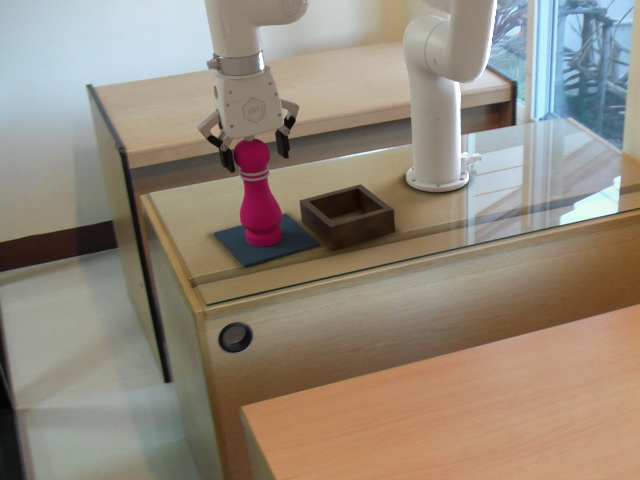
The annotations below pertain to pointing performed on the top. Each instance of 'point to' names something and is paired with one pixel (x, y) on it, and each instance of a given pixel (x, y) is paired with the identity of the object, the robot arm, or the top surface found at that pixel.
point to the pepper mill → (257, 194)
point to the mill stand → (352, 229)
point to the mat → (250, 255)
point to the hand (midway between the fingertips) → (257, 162)
